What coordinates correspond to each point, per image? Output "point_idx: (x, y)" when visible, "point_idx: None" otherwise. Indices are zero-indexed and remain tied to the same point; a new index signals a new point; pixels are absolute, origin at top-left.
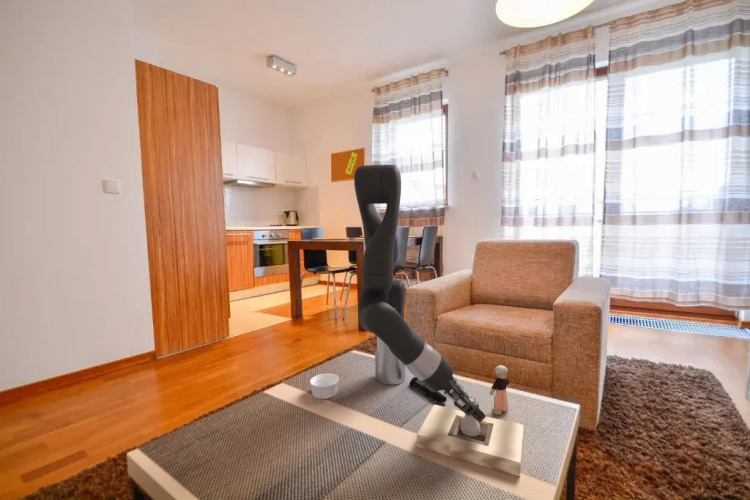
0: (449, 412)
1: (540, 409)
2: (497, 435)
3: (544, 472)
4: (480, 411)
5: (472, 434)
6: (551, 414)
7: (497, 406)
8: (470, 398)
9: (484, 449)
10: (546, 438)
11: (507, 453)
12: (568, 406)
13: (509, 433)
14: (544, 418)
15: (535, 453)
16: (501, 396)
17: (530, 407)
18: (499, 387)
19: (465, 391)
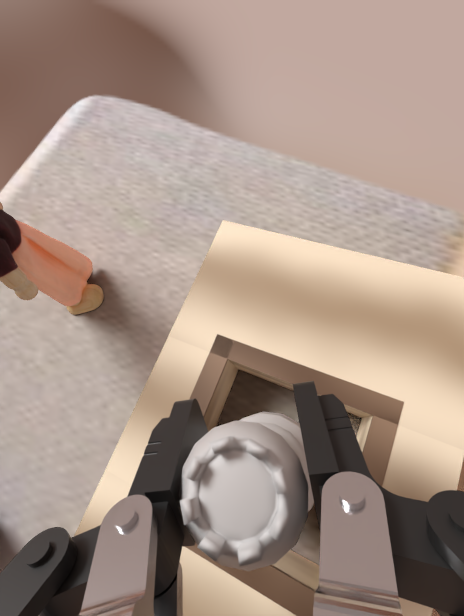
0: None
1: (92, 168)
2: (306, 337)
3: (419, 226)
4: (325, 418)
5: None
6: (120, 147)
7: (74, 290)
8: (211, 489)
9: (436, 429)
10: (238, 184)
11: (442, 324)
12: (89, 102)
13: (286, 283)
14: (137, 168)
15: (320, 230)
16: (41, 255)
17: (77, 192)
18: (6, 240)
19: (108, 525)
